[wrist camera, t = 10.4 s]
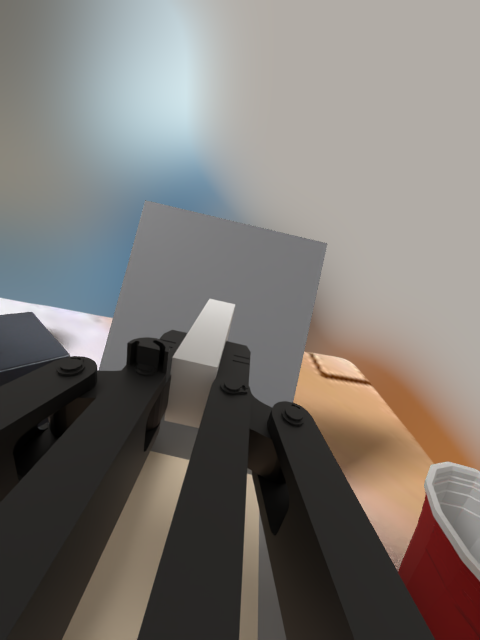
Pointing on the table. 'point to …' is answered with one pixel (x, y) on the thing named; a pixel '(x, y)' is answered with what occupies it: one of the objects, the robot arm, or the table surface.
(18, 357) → the small box
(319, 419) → the table surface
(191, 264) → the lid
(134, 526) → the grey open rectangular box
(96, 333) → the table surface
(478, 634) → the plastic cup
